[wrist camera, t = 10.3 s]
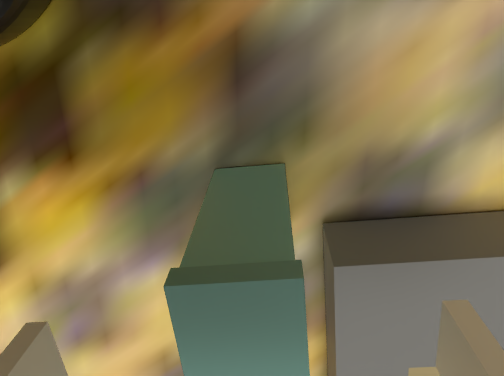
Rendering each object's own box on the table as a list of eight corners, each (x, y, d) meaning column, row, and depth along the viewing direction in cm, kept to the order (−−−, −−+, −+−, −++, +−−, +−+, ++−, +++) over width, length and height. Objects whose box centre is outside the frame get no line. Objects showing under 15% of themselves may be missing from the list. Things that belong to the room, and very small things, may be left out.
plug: (210, 166, 23) (163, 286, 12) (288, 159, 22) (303, 278, 12) (220, 233, 24) (186, 386, 14) (292, 228, 24) (310, 381, 14)
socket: (322, 223, 24) (333, 267, 20) (568, 206, 23) (635, 248, 18) (330, 444, 31) (339, 508, 27) (513, 439, 30) (551, 505, 26)
